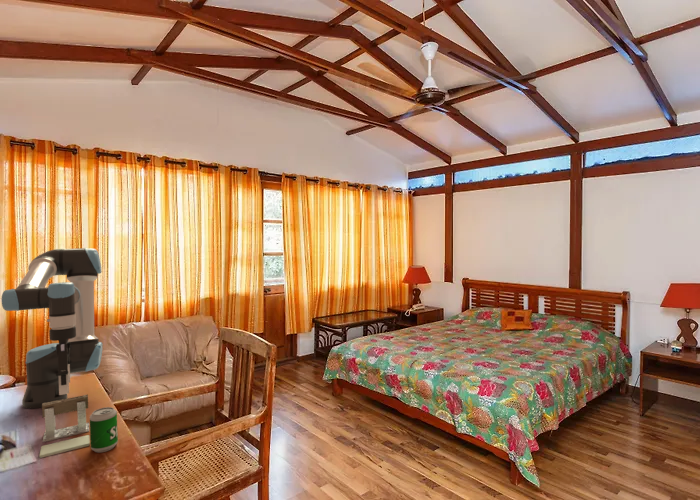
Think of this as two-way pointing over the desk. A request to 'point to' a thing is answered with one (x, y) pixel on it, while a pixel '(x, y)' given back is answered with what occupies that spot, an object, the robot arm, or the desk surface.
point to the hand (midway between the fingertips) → (65, 388)
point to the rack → (68, 431)
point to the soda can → (103, 429)
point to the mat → (64, 446)
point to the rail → (64, 405)
